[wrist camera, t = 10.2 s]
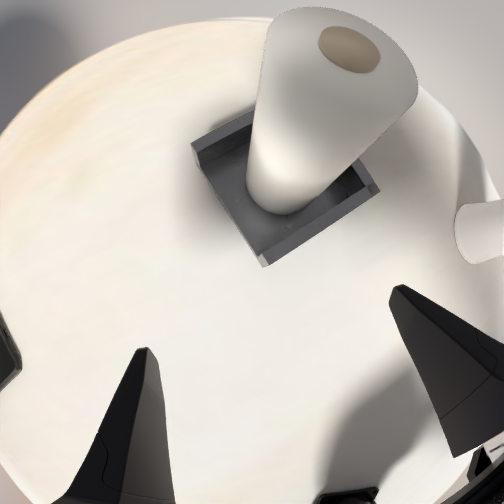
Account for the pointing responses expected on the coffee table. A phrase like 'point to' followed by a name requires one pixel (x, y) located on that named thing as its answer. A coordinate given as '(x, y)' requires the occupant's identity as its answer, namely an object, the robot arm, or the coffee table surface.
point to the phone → (8, 359)
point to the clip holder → (256, 218)
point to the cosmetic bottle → (480, 231)
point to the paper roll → (321, 103)
